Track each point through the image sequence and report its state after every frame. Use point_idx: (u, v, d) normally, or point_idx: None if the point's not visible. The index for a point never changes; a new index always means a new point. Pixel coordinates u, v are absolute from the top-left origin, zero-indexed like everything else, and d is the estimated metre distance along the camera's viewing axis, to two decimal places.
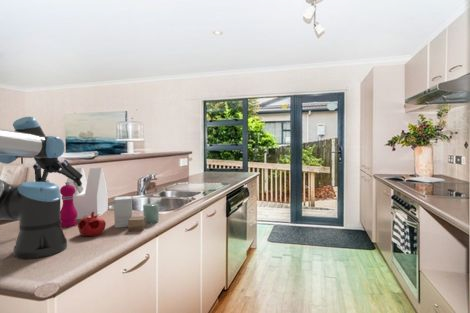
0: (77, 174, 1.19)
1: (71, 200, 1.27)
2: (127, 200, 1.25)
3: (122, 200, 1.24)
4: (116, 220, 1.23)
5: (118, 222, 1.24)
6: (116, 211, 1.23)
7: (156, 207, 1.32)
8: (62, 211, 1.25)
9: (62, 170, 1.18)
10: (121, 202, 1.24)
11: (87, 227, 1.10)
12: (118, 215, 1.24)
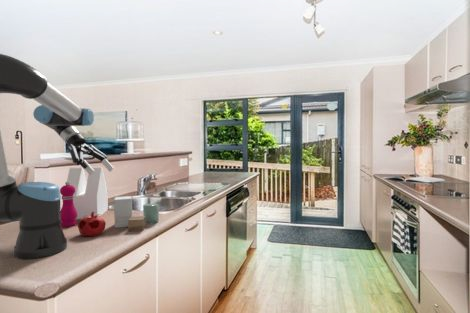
0: None
1: (71, 200, 1.27)
2: (127, 200, 1.25)
3: (122, 200, 1.24)
4: (116, 220, 1.23)
5: (118, 222, 1.24)
6: (116, 211, 1.23)
7: (156, 207, 1.32)
8: (62, 211, 1.25)
9: None
10: (121, 201, 1.24)
11: (87, 227, 1.10)
12: (118, 215, 1.24)
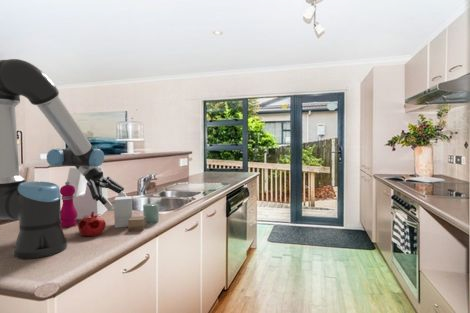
0: None
1: (71, 200, 1.27)
2: (127, 200, 1.25)
3: (122, 200, 1.24)
4: (116, 220, 1.23)
5: (118, 222, 1.24)
6: (116, 211, 1.23)
7: (156, 207, 1.32)
8: (62, 211, 1.25)
9: None
10: (121, 202, 1.24)
11: (87, 227, 1.10)
12: (118, 215, 1.24)
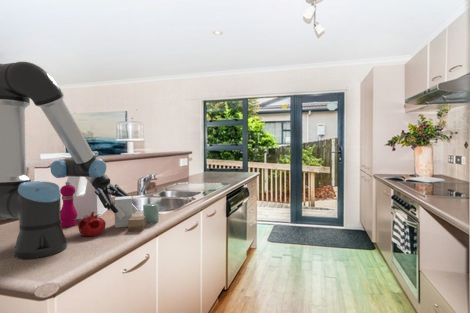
0: None
1: (71, 200, 1.27)
2: (127, 200, 1.25)
3: (122, 200, 1.24)
4: (116, 220, 1.23)
5: (118, 222, 1.24)
6: None
7: (156, 207, 1.32)
8: (62, 211, 1.25)
9: None
10: (121, 201, 1.24)
11: (87, 227, 1.10)
12: None
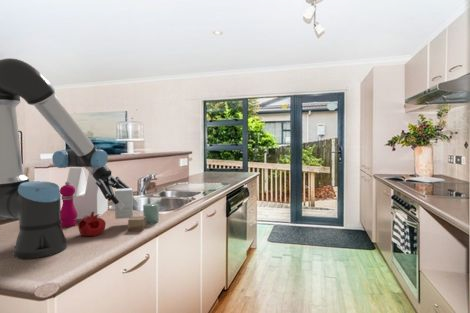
0: None
1: (71, 200, 1.27)
2: (128, 191, 1.25)
3: (123, 192, 1.24)
4: (117, 211, 1.24)
5: (119, 213, 1.24)
6: None
7: (156, 207, 1.32)
8: (62, 211, 1.25)
9: None
10: (122, 193, 1.24)
11: (87, 227, 1.10)
12: None
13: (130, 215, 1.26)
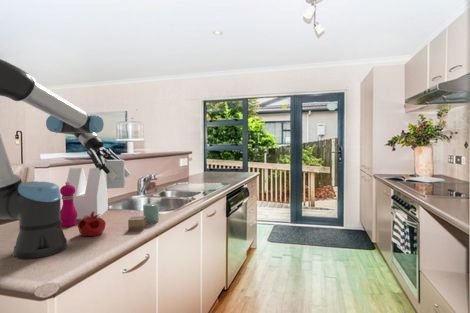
0: None
1: (71, 200, 1.27)
2: (119, 161, 1.25)
3: (114, 162, 1.24)
4: (108, 181, 1.24)
5: (110, 183, 1.24)
6: None
7: (156, 207, 1.32)
8: (62, 211, 1.25)
9: None
10: (113, 163, 1.24)
11: (87, 227, 1.10)
12: None
13: (121, 185, 1.26)
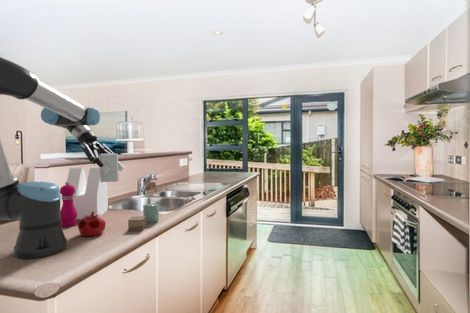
0: None
1: (71, 200, 1.27)
2: (113, 155, 1.26)
3: (107, 155, 1.25)
4: (102, 174, 1.25)
5: (104, 176, 1.25)
6: None
7: (156, 207, 1.32)
8: (62, 211, 1.25)
9: None
10: (106, 156, 1.25)
11: (87, 227, 1.10)
12: None
13: (115, 179, 1.26)
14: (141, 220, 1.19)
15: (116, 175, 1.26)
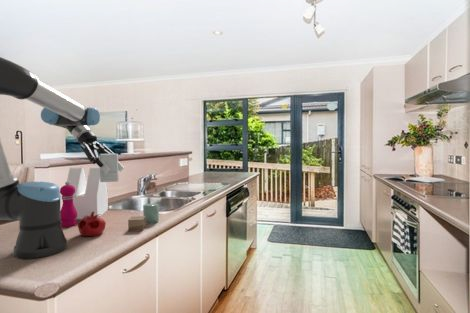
0: None
1: (71, 200, 1.27)
2: (113, 155, 1.26)
3: (107, 155, 1.25)
4: (102, 174, 1.25)
5: (104, 176, 1.25)
6: None
7: (156, 207, 1.32)
8: (62, 211, 1.25)
9: None
10: (106, 156, 1.25)
11: (87, 227, 1.10)
12: None
13: (115, 179, 1.26)
14: (141, 220, 1.19)
15: (116, 175, 1.26)
